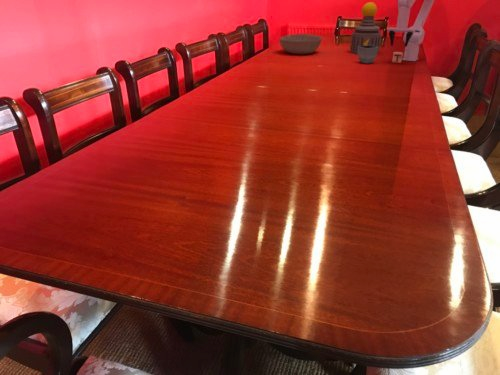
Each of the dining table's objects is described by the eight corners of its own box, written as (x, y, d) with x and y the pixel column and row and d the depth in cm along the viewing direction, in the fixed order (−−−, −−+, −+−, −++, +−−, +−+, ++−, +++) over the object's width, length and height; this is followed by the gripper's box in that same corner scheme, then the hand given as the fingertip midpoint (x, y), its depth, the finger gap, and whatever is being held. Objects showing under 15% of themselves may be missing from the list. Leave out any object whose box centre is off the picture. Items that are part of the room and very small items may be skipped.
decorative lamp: (380, 55, 249) (388, 3, 235) (350, 54, 252) (356, 3, 238) (377, 50, 266) (383, 1, 252) (348, 49, 268) (353, 1, 254)
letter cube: (392, 60, 233) (393, 52, 231) (401, 61, 232) (402, 52, 229) (392, 62, 229) (393, 53, 226) (401, 62, 227) (402, 53, 225)
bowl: (299, 48, 278) (300, 33, 273) (329, 52, 259) (331, 36, 254) (270, 52, 262) (270, 36, 258) (300, 58, 244) (301, 41, 239)
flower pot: (364, 64, 223) (366, 48, 219) (355, 62, 230) (357, 46, 226) (377, 63, 226) (379, 47, 222) (367, 60, 233) (369, 44, 229)
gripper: (387, 19, 216) (383, 45, 222) (414, 21, 209) (410, 47, 215) (391, 18, 221) (387, 44, 227) (418, 19, 214) (413, 46, 220)
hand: (398, 45), depth 222 cm, fingers open, 7 cm apart
